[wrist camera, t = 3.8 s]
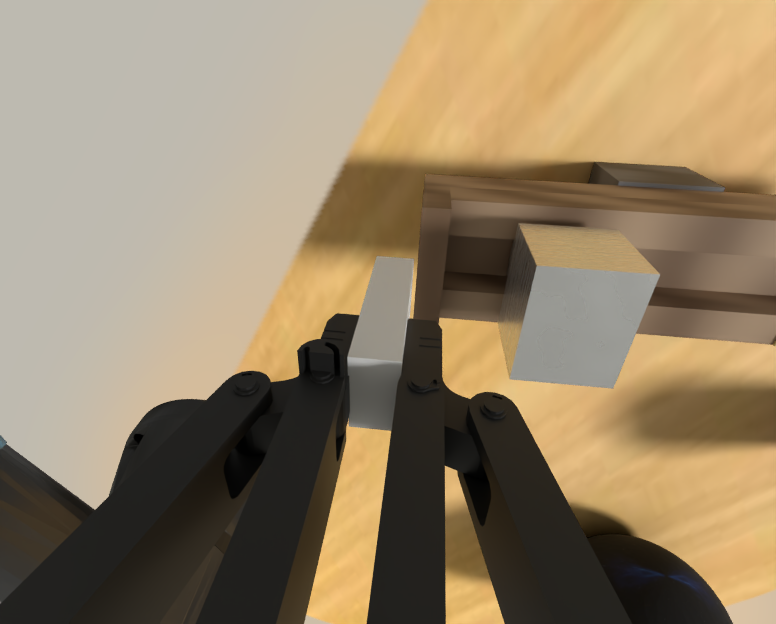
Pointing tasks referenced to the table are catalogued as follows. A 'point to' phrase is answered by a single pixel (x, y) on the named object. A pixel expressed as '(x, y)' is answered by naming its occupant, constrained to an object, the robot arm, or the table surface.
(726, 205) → the beam
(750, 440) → the table surface
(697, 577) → the decorative sphere
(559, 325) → the block
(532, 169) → the table surface
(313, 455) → the robot arm
